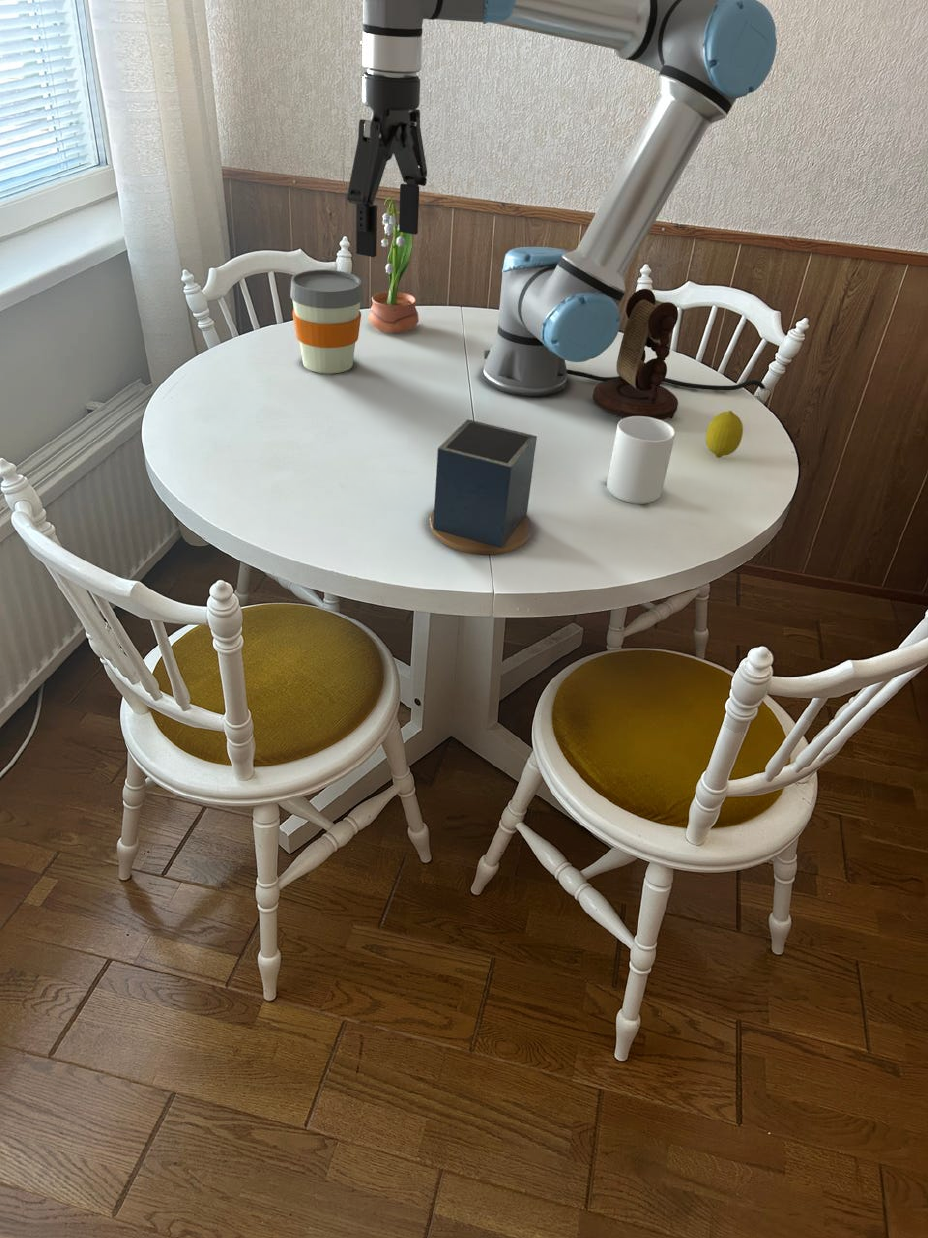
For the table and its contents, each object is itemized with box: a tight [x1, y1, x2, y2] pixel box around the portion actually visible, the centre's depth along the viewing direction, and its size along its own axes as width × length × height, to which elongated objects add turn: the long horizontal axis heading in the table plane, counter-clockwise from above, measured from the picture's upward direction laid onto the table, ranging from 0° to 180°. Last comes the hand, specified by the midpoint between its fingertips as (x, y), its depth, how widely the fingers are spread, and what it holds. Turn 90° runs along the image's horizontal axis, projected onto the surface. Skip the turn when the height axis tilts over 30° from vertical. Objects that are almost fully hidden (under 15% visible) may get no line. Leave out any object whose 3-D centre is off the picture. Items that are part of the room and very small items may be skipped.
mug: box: [606, 416, 676, 505], centre depth 136 cm, size 12×8×10 cm
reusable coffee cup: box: [289, 269, 363, 374], centre depth 164 cm, size 12×12×15 cm
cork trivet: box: [429, 509, 532, 555], centre depth 127 cm, size 14×14×1 cm
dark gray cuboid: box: [433, 418, 538, 548], centre depth 123 cm, size 12×10×10 cm
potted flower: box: [368, 196, 419, 334], centre depth 177 cm, size 12×10×25 cm
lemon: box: [705, 410, 744, 459], centre depth 147 cm, size 6×6×8 cm
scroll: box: [592, 288, 679, 421], centre depth 156 cm, size 15×15×20 cm
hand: (388, 243), depth 132 cm, fingers open, 13 cm apart
